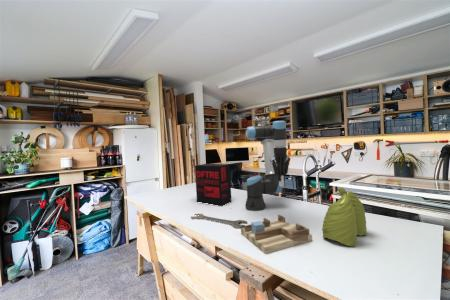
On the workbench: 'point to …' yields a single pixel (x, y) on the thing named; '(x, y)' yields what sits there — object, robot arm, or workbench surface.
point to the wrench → (222, 221)
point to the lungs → (345, 219)
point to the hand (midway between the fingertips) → (281, 186)
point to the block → (257, 227)
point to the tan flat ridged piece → (277, 235)
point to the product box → (213, 183)
